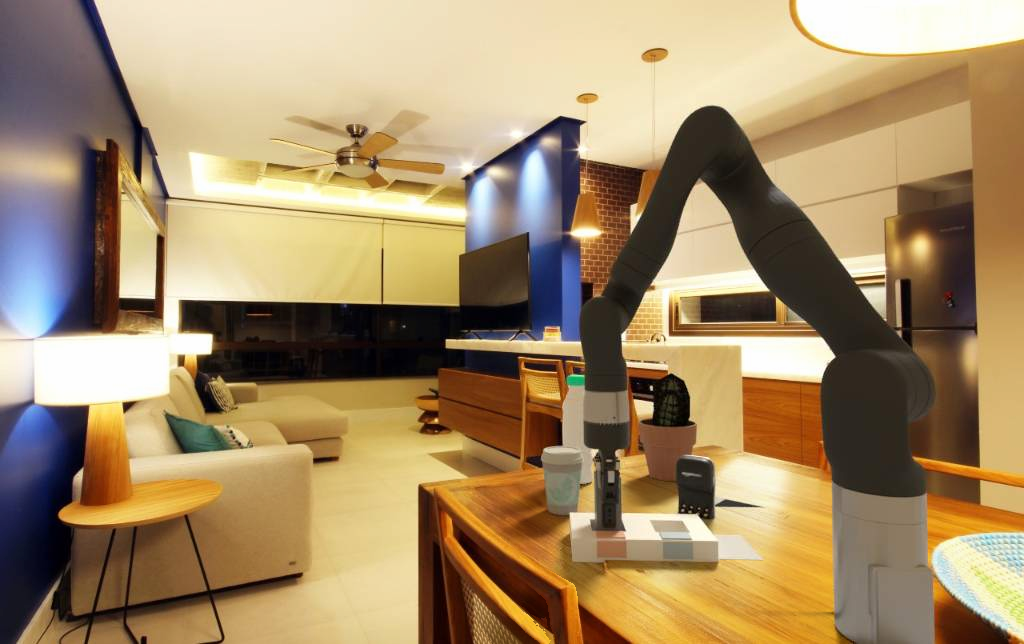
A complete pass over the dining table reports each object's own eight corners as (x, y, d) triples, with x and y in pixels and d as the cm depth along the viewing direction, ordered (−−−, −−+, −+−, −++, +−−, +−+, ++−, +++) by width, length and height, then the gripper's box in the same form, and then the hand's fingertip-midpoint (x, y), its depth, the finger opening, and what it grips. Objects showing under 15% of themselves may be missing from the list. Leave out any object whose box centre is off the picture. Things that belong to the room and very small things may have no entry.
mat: (763, 563, 83) (763, 559, 83) (709, 562, 83) (709, 558, 83) (740, 538, 93) (740, 535, 93) (692, 537, 93) (692, 534, 93)
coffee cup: (534, 513, 106) (533, 452, 106) (551, 501, 113) (551, 443, 114) (575, 520, 102) (574, 456, 102) (590, 507, 109) (589, 447, 110)
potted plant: (628, 471, 136) (627, 372, 137) (675, 467, 140) (674, 370, 141) (659, 486, 123) (657, 376, 124) (709, 481, 127) (708, 374, 128)
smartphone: (716, 500, 114) (716, 496, 114) (796, 518, 103) (795, 512, 103) (701, 509, 109) (701, 504, 109) (783, 528, 98) (783, 523, 98)
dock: (719, 565, 82) (718, 540, 82) (572, 562, 83) (572, 537, 84) (697, 535, 94) (696, 513, 94) (569, 532, 96) (569, 511, 96)
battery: (673, 516, 103) (672, 456, 104) (680, 511, 106) (679, 452, 107) (711, 524, 99) (710, 461, 99) (717, 518, 102) (716, 457, 103)
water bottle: (557, 479, 130) (556, 375, 130) (582, 475, 133) (581, 373, 133) (572, 486, 124) (571, 377, 124) (598, 483, 127) (597, 375, 127)
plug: (622, 540, 87) (621, 474, 87) (596, 540, 87) (595, 474, 88) (619, 531, 91) (617, 467, 91) (594, 530, 91) (594, 467, 92)
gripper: (635, 425, 82) (637, 539, 82) (623, 411, 96) (624, 508, 96) (586, 425, 83) (587, 538, 82) (581, 411, 97) (582, 507, 97)
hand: (607, 521), depth 89 cm, fingers closed on plug, 4 cm apart
